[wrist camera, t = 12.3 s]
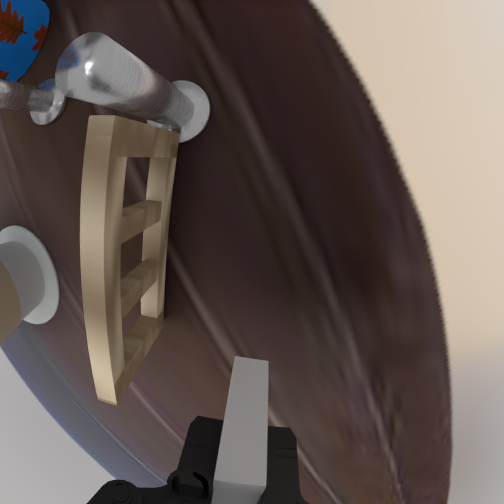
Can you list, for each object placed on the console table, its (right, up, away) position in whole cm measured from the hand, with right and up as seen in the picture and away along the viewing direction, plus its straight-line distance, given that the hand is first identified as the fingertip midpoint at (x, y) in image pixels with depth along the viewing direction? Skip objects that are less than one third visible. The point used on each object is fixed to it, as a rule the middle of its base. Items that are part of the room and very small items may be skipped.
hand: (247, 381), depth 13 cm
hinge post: (-5, +15, +5) cm, 17 cm away
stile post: (-16, +18, +5) cm, 25 cm away
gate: (-6, +7, +7) cm, 12 cm away
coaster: (-22, +4, +10) cm, 24 cm away
